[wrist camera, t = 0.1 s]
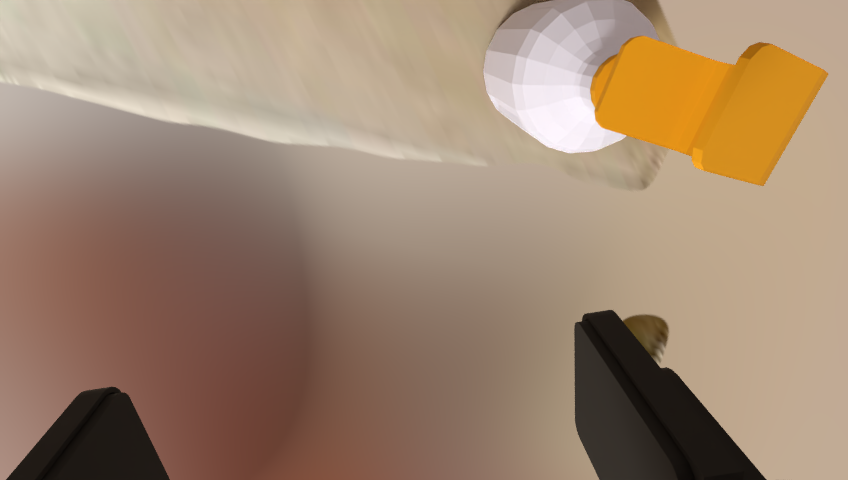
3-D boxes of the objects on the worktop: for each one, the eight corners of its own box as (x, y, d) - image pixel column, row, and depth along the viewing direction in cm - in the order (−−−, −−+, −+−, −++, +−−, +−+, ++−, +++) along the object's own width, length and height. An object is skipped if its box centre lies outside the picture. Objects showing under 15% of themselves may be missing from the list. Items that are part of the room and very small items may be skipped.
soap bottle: (505, -14, 35) (716, -93, 13) (615, 25, 37) (975, 15, 14) (466, 107, 38) (580, 214, 16) (569, 138, 40) (804, 274, 18)
